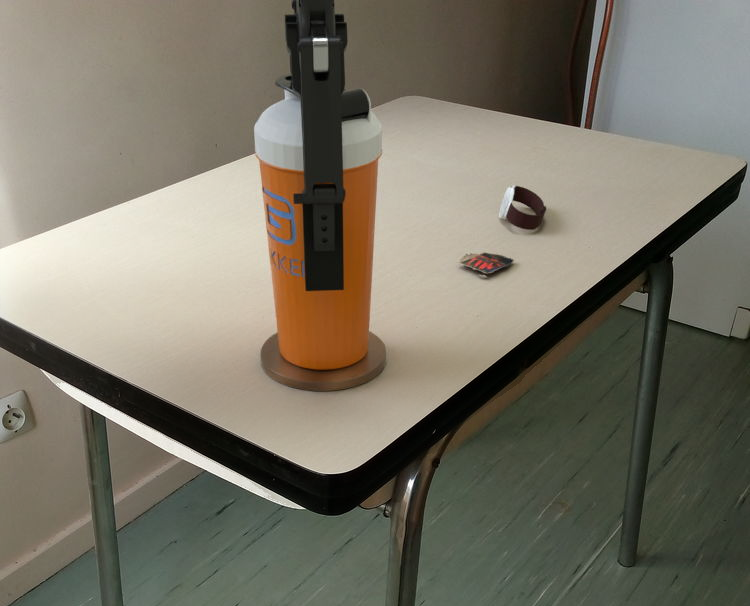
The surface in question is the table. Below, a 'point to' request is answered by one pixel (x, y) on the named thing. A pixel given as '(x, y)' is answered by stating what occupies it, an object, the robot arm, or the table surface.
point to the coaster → (323, 379)
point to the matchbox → (485, 262)
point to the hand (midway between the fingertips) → (321, 260)
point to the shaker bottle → (286, 239)
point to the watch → (517, 216)
